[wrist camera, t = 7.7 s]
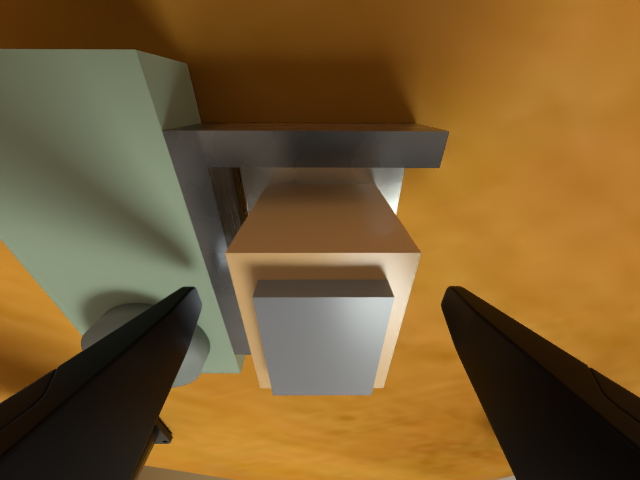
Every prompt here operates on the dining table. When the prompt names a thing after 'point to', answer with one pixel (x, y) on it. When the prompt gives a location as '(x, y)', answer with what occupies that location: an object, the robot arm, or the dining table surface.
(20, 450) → the robot arm
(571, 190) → the dining table surface
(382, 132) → the bracket
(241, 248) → the tan and grey block
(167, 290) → the sage green knobbed slab
